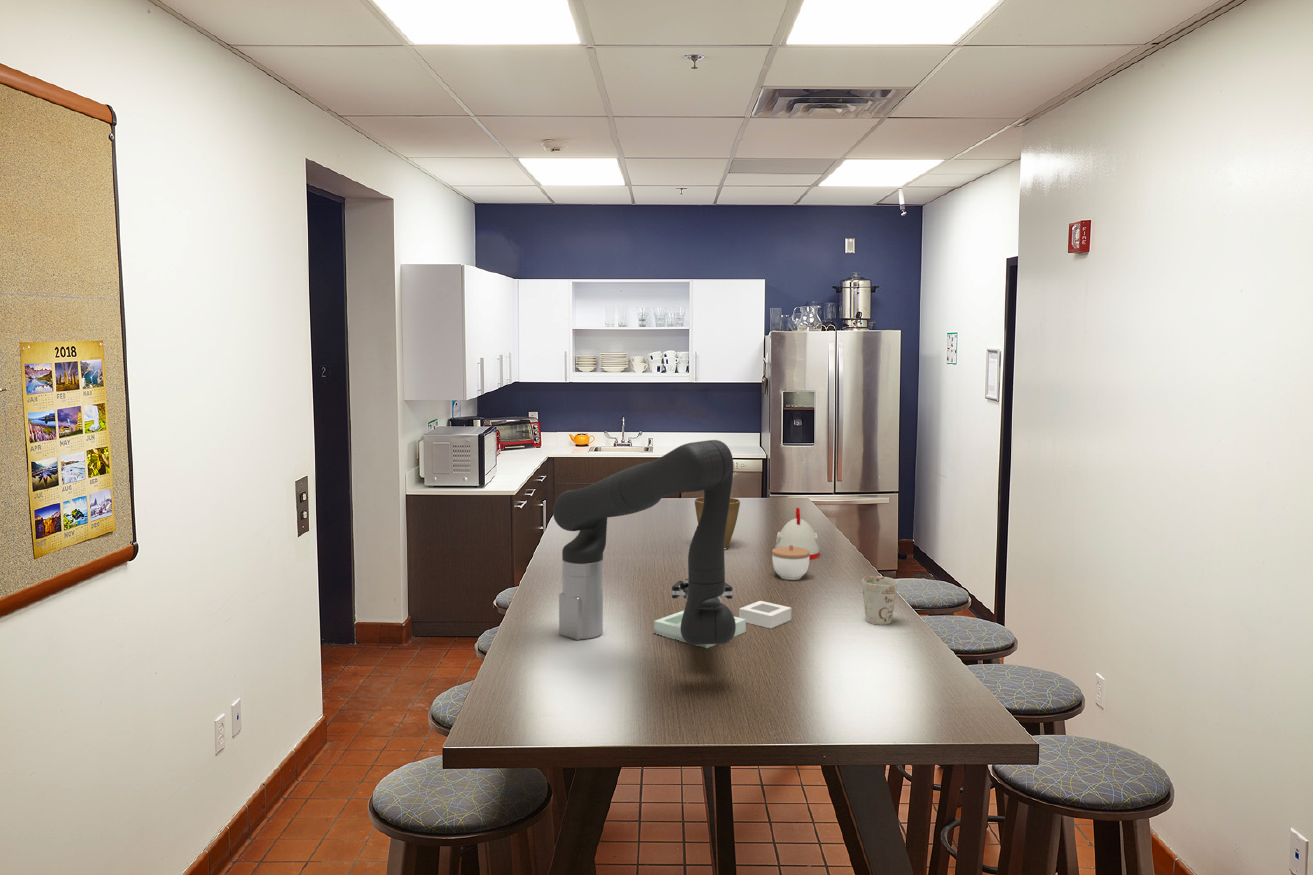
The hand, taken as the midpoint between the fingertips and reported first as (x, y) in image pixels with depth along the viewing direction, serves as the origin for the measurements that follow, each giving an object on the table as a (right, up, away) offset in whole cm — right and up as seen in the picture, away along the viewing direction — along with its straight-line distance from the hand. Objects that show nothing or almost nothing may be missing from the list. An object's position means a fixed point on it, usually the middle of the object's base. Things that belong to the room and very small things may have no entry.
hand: (700, 581), depth 205 cm
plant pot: (+10, -3, +85) cm, 86 cm away
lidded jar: (+28, -7, +49) cm, 57 cm away
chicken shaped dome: (+34, -4, +76) cm, 84 cm away
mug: (+43, -11, +11) cm, 45 cm away
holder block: (+16, -11, +8) cm, 21 cm away
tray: (0, -12, -2) cm, 12 cm away
